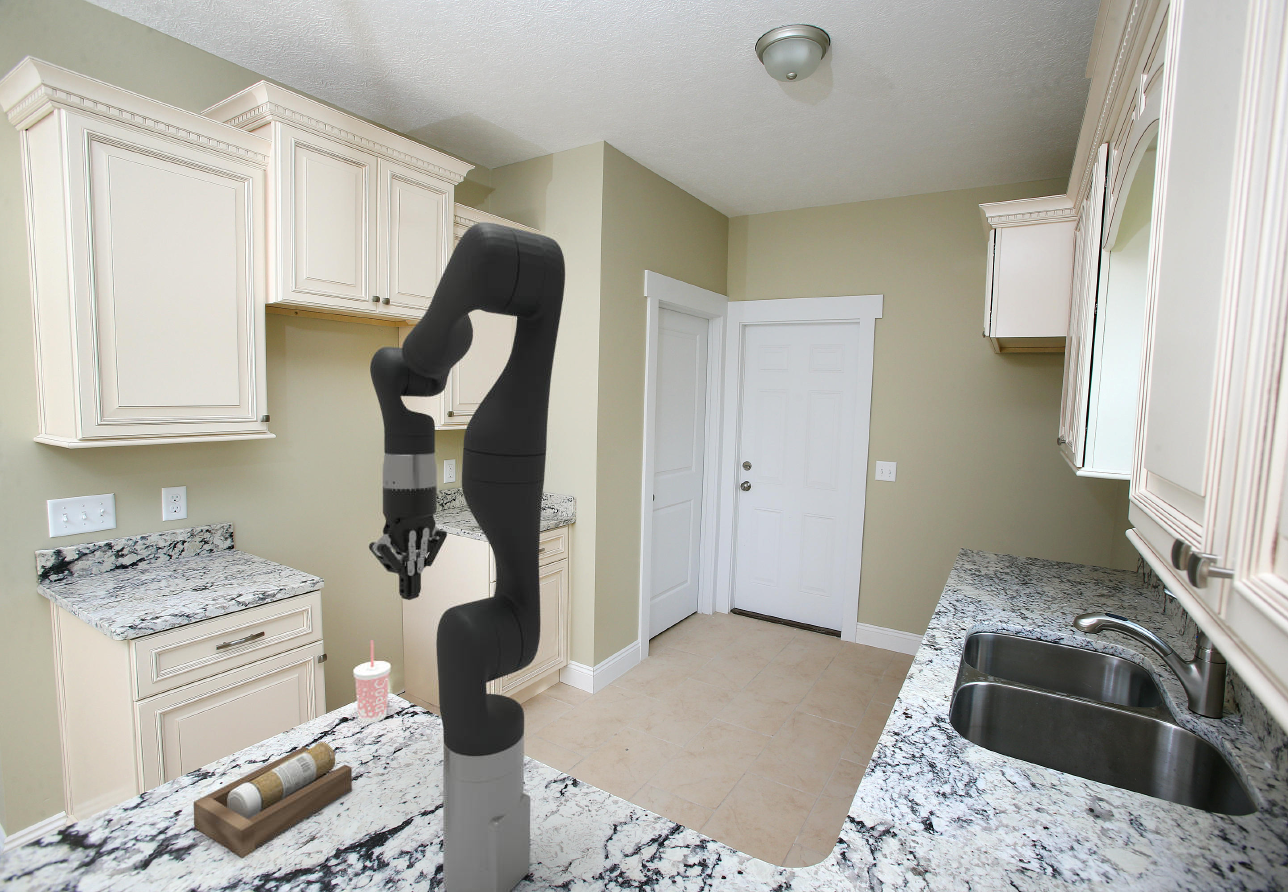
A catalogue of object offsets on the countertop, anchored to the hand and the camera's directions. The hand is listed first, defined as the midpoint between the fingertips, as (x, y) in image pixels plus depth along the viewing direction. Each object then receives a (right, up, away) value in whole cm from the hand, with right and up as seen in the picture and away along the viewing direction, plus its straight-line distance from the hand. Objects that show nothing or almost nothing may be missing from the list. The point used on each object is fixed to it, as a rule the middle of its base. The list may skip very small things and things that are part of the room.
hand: (410, 597), depth 90 cm
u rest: (-15, -27, -7) cm, 32 cm away
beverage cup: (-14, -26, +18) cm, 34 cm away
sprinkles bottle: (-13, -24, +1) cm, 28 cm away
